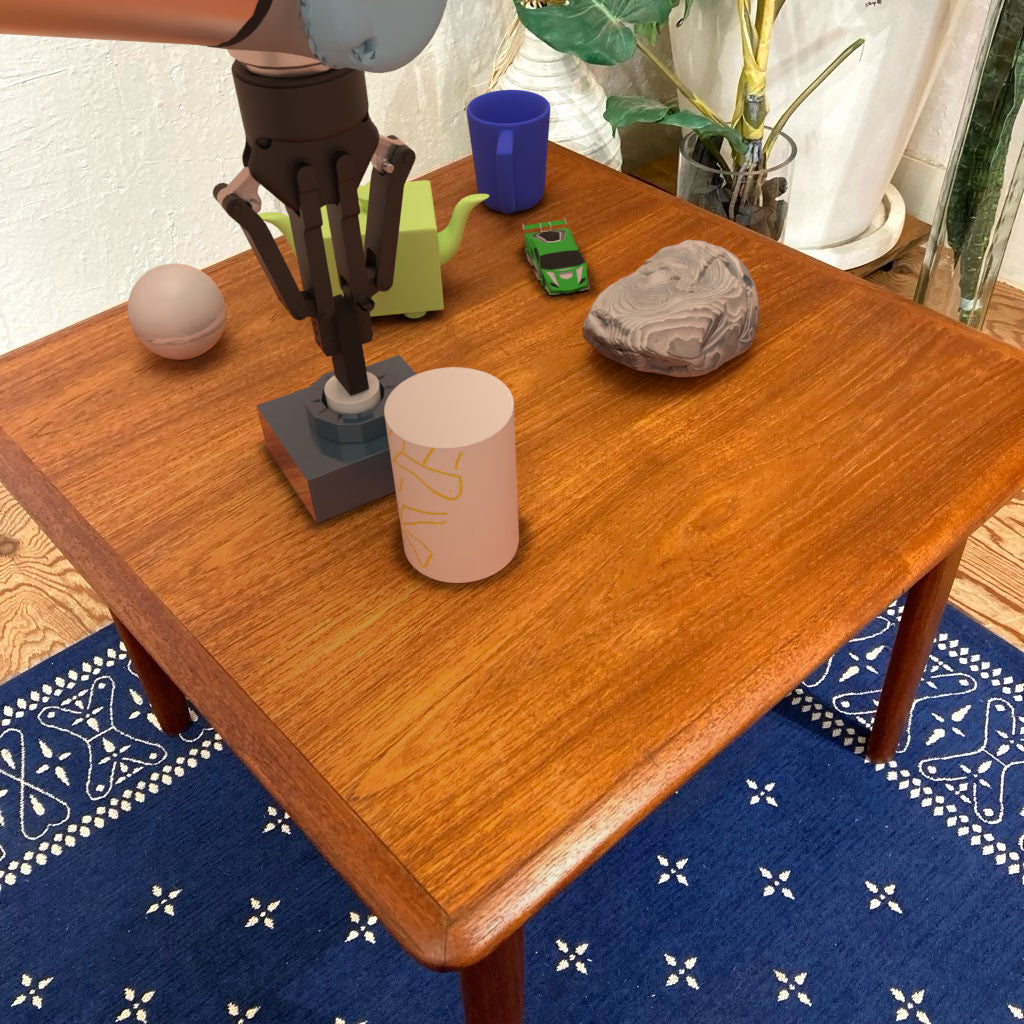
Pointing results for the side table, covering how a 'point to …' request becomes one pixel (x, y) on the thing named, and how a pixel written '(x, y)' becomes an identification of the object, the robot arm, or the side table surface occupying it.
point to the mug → (509, 147)
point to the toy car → (556, 258)
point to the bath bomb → (177, 311)
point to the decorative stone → (677, 312)
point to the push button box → (333, 444)
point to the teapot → (403, 249)
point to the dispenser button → (352, 396)
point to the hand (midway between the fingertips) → (352, 382)
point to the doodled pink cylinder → (454, 472)
